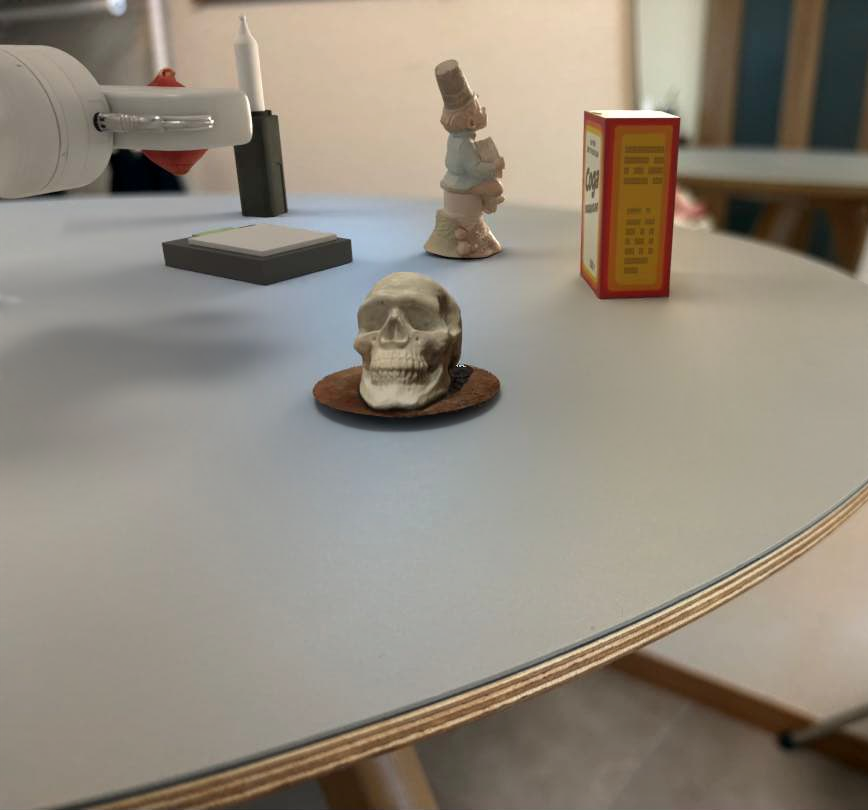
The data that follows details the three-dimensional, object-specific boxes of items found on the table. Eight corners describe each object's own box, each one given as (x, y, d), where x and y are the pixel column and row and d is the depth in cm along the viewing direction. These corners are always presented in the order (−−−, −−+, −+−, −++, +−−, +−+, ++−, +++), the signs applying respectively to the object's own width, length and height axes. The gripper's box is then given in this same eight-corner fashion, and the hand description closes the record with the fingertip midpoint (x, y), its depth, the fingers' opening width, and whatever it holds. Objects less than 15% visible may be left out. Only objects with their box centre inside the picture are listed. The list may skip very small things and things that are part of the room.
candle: (257, 209, 120) (234, 14, 110) (291, 210, 119) (270, 14, 109) (238, 215, 115) (212, 12, 106) (273, 217, 114) (250, 12, 105)
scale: (165, 265, 88) (160, 236, 87) (256, 245, 98) (253, 219, 97) (264, 285, 81) (261, 254, 80) (353, 261, 90) (350, 233, 89)
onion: (182, 182, 64) (165, 68, 61) (122, 178, 66) (103, 67, 63) (233, 173, 69) (220, 67, 66) (176, 169, 71) (161, 66, 68)
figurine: (439, 264, 89) (431, 59, 82) (416, 248, 97) (407, 58, 89) (517, 257, 93) (516, 59, 85) (489, 242, 100) (486, 58, 92)
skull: (496, 419, 49) (370, 286, 47) (377, 512, 53) (255, 394, 50) (529, 346, 60) (427, 235, 57) (428, 428, 64) (329, 328, 61)
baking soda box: (580, 273, 86) (584, 106, 80) (642, 272, 87) (651, 106, 81) (599, 298, 77) (605, 113, 71) (668, 296, 78) (680, 112, 72)
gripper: (170, 70, 50) (292, 67, 63) (-103, 64, 55) (60, 62, 67) (185, 179, 53) (300, 156, 65) (-77, 164, 57) (76, 145, 70)
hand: (176, 108), depth 66 cm, fingers closed on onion, 5 cm apart
